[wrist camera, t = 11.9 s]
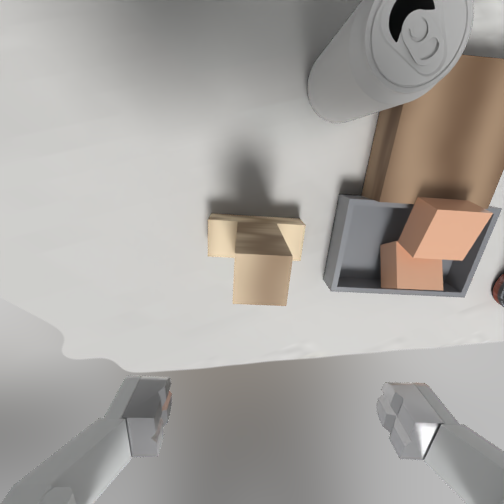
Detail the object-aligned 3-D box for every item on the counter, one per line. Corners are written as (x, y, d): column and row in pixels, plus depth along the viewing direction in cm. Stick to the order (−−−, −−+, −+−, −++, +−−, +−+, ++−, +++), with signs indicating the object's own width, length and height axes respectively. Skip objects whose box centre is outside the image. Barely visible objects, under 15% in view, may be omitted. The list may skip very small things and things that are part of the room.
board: (361, 195, 28) (379, 201, 24) (389, 66, 24) (416, 50, 20) (455, 202, 29) (487, 209, 25) (499, 77, 24) (546, 63, 21)
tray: (323, 279, 32) (330, 291, 29) (339, 194, 28) (349, 198, 25) (445, 285, 32) (464, 297, 30) (476, 203, 29) (501, 208, 26)
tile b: (397, 241, 27) (413, 257, 24) (417, 196, 24) (437, 209, 22) (442, 244, 27) (462, 260, 24) (467, 200, 24) (493, 213, 22)
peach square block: (396, 240, 27) (380, 244, 30) (397, 288, 26) (380, 287, 29) (441, 243, 27) (421, 247, 30) (443, 290, 26) (422, 289, 29)
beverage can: (349, 28, 23) (452, -96, 11) (383, 93, 24) (501, 40, 13) (292, 81, 24) (334, 17, 13) (329, 138, 26) (395, 125, 15)
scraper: (211, 246, 30) (191, 302, 18) (211, 213, 28) (190, 251, 17) (295, 251, 30) (325, 307, 19) (299, 218, 29) (335, 258, 18)
